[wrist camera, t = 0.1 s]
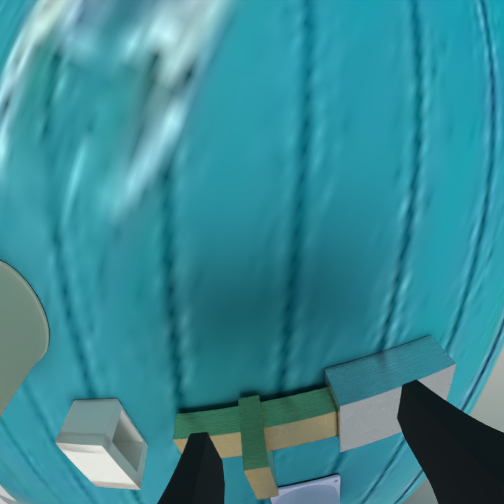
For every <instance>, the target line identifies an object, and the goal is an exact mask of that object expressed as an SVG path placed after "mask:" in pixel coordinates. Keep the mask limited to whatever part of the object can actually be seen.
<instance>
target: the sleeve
mask: <svg viewBox="0 0 504 504" xmlns="http://www.w3.org/2000/svg"><path fill="white" fill-rule="evenodd" d="M455 367H456V363H455V362H454V361H453V360H452V358H451V357H450V356H449V355H448V354H447V353H446V352H445V351H444V350H443V348H442V347H441V346H440V345H439V344H438V343H437V342H436V341H435V340H434V339H433V338H432V337H431V335H429V336H426V337H423V338H421V339H418V340H415V341H412V342H409V343H407V344H404V345H401V346H398V347H395V348H392V349H389V350H386V351H383V352H380V353H377V354H373V355H370V356H367V357H364V358H360V359H357V360H353V361H350V362H346V363H343V364H339V365H336V366H332V367H328V368H324V370H325V382H326V387H329V389H330V391H331V394H332V396H333V399H334V401H335V404H336V406H337V409H338V426H339V435H337V436H335V438H336V441H337V444H338V447H339V450H340V452H343V451H347V450H350V449H353V448H357V447H360V446H363V445H366V444H369V443H372V442H375V441H378V440H381V439H383V438H386V437H389V436H392V435H394V434H397V433H399V432H402V430H401V427H400V425H399V422H398V420H397V414H398V409H399V403H400V396H401V390H402V385H403V384H405V383H408V382H411V381H413V380H416V379H417V380H418V381H420V382H421V383H422V384H424V385H425V386H426V387H428V388H429V389H430V390H432V391H433V392H435V393H436V394H437V395H439V396H440V397H442V398H443V399H444V400H447V396H448V393H449V389H450V386H451V382H452V378H453V375H454V371H455Z"/></svg>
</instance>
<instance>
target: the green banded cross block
mask: <svg viewBox="0 0 504 504" xmlns="http://www.w3.org/2000/svg"><path fill="white" fill-rule="evenodd" d="M238 403H239V406H236V407H229V408H223V409H216V410H208V411H201V412H192V413H183V414H176V419H175V427H174V434H173V441H174V442H175V444H176V446H177V447H178V449H179V450H180V452H181V453H183V450H184V448H185V445H186V443H187V440H188V437H189V435H190V434H191V433H200V432H208V434H209V436H210V438H211V440H212V442H213V444H214V446H215V448H216V450H217V452H218V453H219V455H220V457H221V458H226V457H234V456H241V455H242V459H243V471H244V473H245V475H246V477H247V479H248V481H249V483H250V485H251V487H252V489H253V491H254V493H255V495H256V497H257V499H265V498H271V497H277V496H279V490H278V484H277V478H276V472H275V466H274V460H273V453H272V450H277V449H282V448H287V447H292V446H297V445H301V444H305V443H310V442H314V441H318V440H322V439H326V438H329V437H333V436H337V435H339V426H338V409H337V406H336V404H335V401H334V399H333V396H332V394H331V391H330V389H329V387H325V388H321V389H317V390H313V391H309V392H305V393H301V394H297V395H292V396H288V397H283V398H279V399H274V400H269V401H264V402H261V401H260V397H259V395H256V396H250V397H245V398H239V399H238Z"/></svg>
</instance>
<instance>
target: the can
mask: <svg viewBox="0 0 504 504" xmlns="http://www.w3.org/2000/svg"><path fill="white" fill-rule="evenodd" d="M48 345H49V327H48V322H47V318H46V315H45V312H44V310H43V307H42V305H41V303H40V301H39V299H38V297H37V296H36V294H35V292H34V291H33V289H32V288H31V286H30V285H29V284H28V283H27V281H26V280H25V279H24V278H23V277H22V276H21V275H20V274H19V273H18V272H17V271H16V270H15V269H14V268H12V267H11V266H9V265H8V264H6V263H4V262H2V261H0V417H1V415H2V414H3V412H4V410H5V409H6V407H7V406H8V404H9V402H10V401H11V399H12V398H13V396H14V395H15V393H16V391H17V390H18V388H19V387H20V385H21V384H22V382H23V381H24V379H25V378H26V377H27V375H28V374H29V372H30V371H31V369H32V368H33V367H34V365H35V364H36V363H37V362H38V361H39V360H40V359H41V358H42V357H43V356H44V355H45V353H46V351H47V349H48Z"/></svg>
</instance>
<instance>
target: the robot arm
mask: <svg viewBox="0 0 504 504" xmlns="http://www.w3.org/2000/svg"><path fill="white" fill-rule="evenodd" d="M397 420H398V422H399V425H400V427H401V430H402V432H403V435H404V437H405V439H406V441H407V443H408V445H409V446H410V448H411V450H412V452H413V453H414V455H415V457H416V459H417V460H418V462H419V464H420V466H421V467H422V469H423V471H424V473H425V474H426V476H427V478H428V480H429V482H430V484H431V486H432V488H433V491H434V493H435V496H436V498H437V501H438V504H504V433H503V432H501V431H498V430H496V429H494V428H492V427H489V426H487V425H485V424H483V423H482V422H480V421H478V420H476V419H474V418H472V417H471V416H469V415H467V414H466V413H464V412H462V411H461V410H459V409H458V408H456V407H455V406H453V405H452V404H450V403H449V402H447V401H446V400H444V399H443V398H442V397H440V396H439V395H437V394H436V393H435V392H433V391H432V390H430V389H429V388H428V387H426V386H425V385H424V384H422V383H421V382H420V381H418V380H417V379H416V380H413V381H411V382H408V383H405V384H403V385H402V390H401V396H400V403H399V409H398V414H397ZM278 490H279V496H277V497H271V498H270V499H271V502H272V504H341V503H340V475H333V476H329V477H325V478H322V479H318V480H313V481H309V482H305V483H300V484H295V485H290V486H285V487H280V488H278ZM224 491H225V483H224V472H223V463H222V459H221V457H220V455H219V453H218V452H217V450H216V448H215V446H214V444H213V442H212V440H211V438H210V436H209V434H208V432H200V433H191V434H190V435H189V437H188V440H187V443H186V445H185V448H184V450H183V453H182V455H181V458H180V460H179V462H178V465H177V467H176V469H175V471H174V473H173V475H172V477H171V479H170V482H169V483H168V485H167V487H166V489H165V491H164V493H163V494H162V496H161V498H160V500H159V501H158V503H157V504H224Z"/></svg>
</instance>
